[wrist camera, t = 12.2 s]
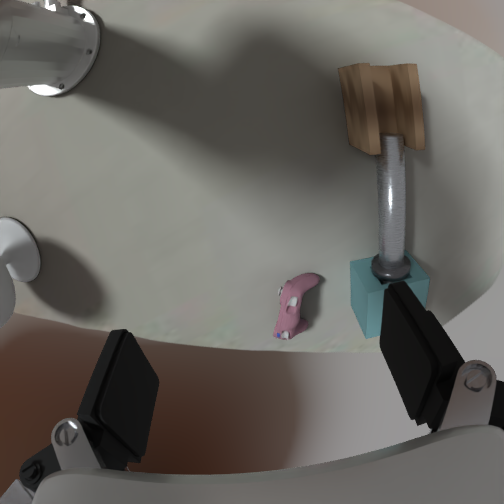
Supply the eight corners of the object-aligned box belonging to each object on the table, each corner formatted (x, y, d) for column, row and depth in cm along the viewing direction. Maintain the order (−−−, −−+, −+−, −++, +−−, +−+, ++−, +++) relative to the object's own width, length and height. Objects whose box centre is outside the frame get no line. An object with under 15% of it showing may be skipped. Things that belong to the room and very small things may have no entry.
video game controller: (292, 263, 44) (274, 287, 38) (322, 272, 42) (309, 298, 37) (282, 316, 49) (264, 343, 43) (308, 325, 47) (294, 354, 41)
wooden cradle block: (337, 68, 30) (358, 63, 24) (388, 66, 30) (416, 63, 24) (349, 144, 35) (370, 155, 29) (397, 139, 34) (425, 149, 28)
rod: (358, 133, 32) (376, 140, 28) (398, 130, 32) (420, 137, 27) (365, 308, 44) (376, 331, 40) (396, 300, 44) (410, 322, 39)
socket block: (350, 261, 42) (368, 293, 36) (405, 250, 42) (430, 278, 35) (350, 305, 46) (365, 338, 39) (402, 293, 45) (422, 323, 39)
